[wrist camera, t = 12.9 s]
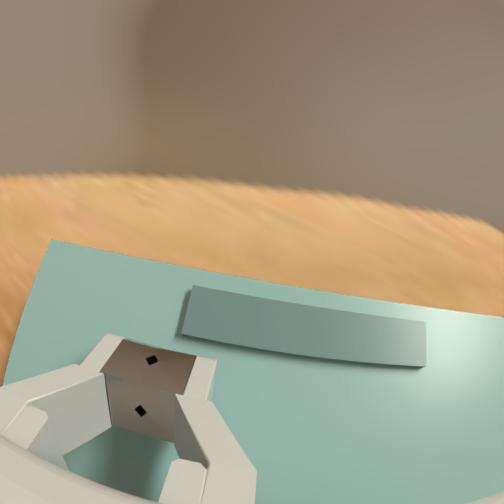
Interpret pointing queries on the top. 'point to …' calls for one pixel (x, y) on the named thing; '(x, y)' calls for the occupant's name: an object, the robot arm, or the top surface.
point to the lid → (285, 379)
